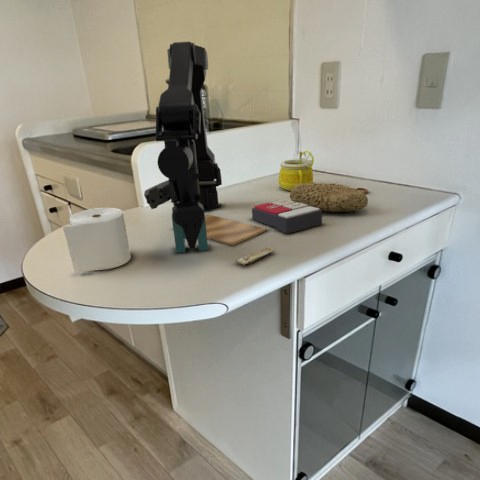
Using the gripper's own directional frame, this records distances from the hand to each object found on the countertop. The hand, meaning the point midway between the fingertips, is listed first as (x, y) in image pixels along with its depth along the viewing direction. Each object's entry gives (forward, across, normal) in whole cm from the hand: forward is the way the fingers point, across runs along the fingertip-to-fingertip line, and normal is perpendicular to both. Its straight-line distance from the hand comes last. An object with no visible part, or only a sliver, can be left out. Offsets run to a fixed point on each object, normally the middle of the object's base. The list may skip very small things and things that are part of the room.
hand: (191, 241), depth 97 cm
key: (+2, -29, +49) cm, 57 cm away
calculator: (+2, -13, +24) cm, 28 cm away
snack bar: (+2, +9, +13) cm, 16 cm away
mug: (+2, -44, +35) cm, 56 cm away
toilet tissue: (+2, +3, -19) cm, 19 cm away
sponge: (+2, -20, +38) cm, 43 cm away
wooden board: (+2, -11, +7) cm, 14 cm away
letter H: (+2, 0, 0) cm, 2 cm away
